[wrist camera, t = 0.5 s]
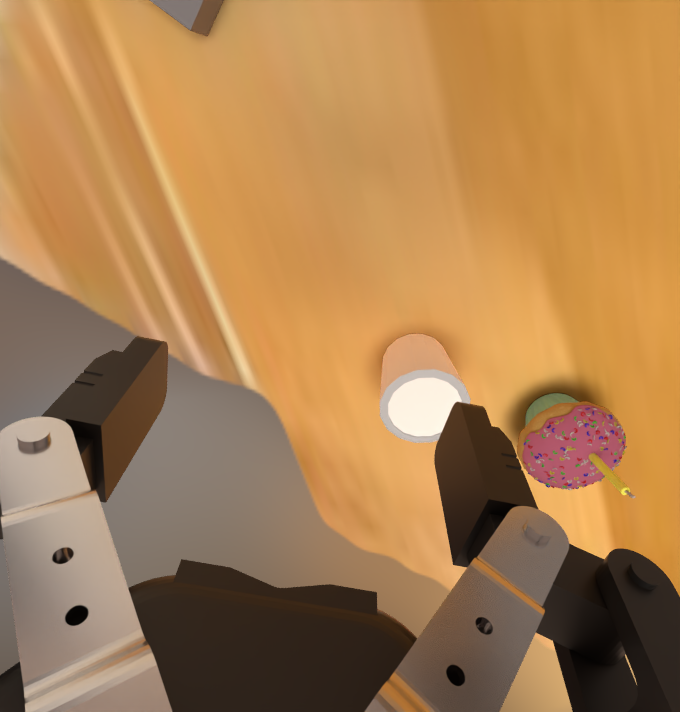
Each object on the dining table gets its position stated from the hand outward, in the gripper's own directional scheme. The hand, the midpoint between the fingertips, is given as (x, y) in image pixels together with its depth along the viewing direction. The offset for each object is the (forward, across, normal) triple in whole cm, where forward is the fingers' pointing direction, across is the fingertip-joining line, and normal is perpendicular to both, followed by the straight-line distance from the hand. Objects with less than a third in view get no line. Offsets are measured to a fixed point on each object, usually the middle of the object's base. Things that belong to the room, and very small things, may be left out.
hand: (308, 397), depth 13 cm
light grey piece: (+25, -9, +12) cm, 30 cm away
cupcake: (+26, -23, +15) cm, 38 cm away
